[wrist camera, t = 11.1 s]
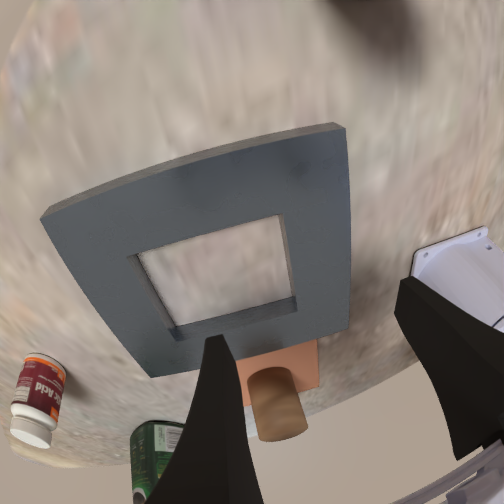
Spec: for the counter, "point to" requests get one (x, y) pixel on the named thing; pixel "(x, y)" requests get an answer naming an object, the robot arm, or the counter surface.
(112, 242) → the grey square frame
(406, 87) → the counter surface
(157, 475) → the coffee jar
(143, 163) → the counter surface
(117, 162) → the counter surface
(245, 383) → the mat
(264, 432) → the brown wooden cylinder
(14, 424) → the pill bottle
